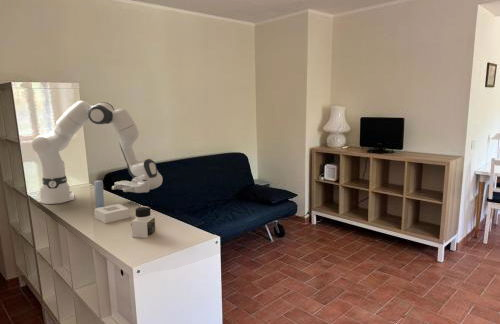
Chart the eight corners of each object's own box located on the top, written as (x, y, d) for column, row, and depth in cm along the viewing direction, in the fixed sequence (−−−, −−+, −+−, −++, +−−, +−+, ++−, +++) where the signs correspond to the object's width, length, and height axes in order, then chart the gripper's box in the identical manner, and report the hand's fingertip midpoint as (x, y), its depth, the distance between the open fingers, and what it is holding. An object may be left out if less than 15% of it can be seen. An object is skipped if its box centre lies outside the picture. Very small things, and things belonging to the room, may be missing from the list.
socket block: (94, 217, 168) (94, 208, 168) (118, 212, 177) (118, 203, 176) (105, 223, 160) (104, 214, 159) (129, 217, 169) (129, 208, 168)
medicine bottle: (148, 238, 142) (146, 210, 140) (132, 237, 143) (130, 209, 141) (155, 232, 149) (154, 205, 147) (140, 231, 150) (138, 204, 148)
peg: (96, 210, 179) (94, 180, 177) (104, 210, 181) (103, 180, 178) (95, 213, 176) (93, 182, 173) (104, 212, 177) (102, 181, 174)
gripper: (126, 177, 203) (105, 181, 191) (150, 181, 192) (130, 186, 181) (126, 187, 204) (106, 192, 192) (150, 192, 193) (130, 197, 182)
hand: (118, 189), depth 186 cm, fingers open, 8 cm apart
